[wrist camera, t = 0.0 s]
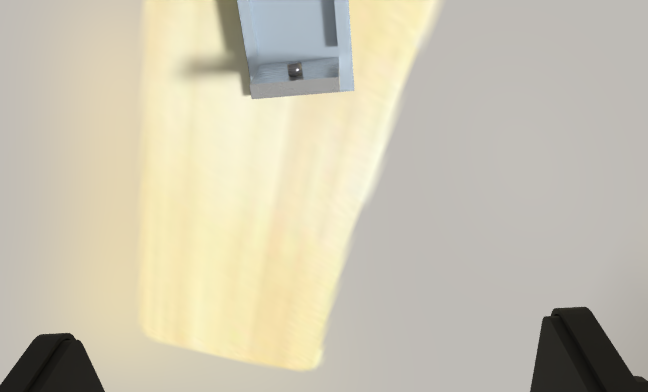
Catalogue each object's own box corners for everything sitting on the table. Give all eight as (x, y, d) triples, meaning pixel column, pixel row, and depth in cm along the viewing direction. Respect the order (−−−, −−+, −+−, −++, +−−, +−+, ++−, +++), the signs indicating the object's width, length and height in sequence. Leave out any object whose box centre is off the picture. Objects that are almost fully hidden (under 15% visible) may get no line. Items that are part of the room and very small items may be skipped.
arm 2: (259, 53, 37) (247, 72, 32) (338, 46, 36) (337, 64, 31) (262, 76, 38) (251, 99, 33) (339, 70, 37) (339, 91, 32)
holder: (224, -90, 33) (218, -91, 31) (341, -103, 32) (341, -105, 31) (255, 95, 39) (251, 102, 38) (354, 86, 39) (354, 94, 37)
